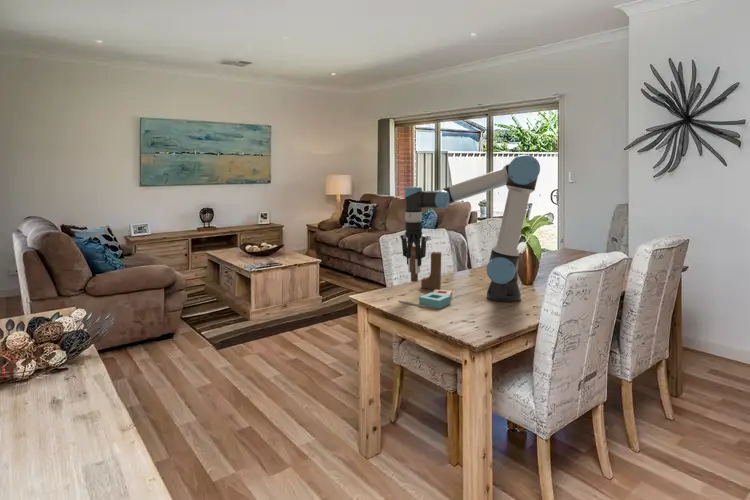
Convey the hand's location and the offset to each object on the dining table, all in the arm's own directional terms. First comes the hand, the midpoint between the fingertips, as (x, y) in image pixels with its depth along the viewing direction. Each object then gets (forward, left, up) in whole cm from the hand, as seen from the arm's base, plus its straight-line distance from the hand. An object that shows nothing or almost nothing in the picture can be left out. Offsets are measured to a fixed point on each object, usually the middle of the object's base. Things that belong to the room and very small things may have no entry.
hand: (414, 272), depth 225 cm
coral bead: (-11, -6, -12) cm, 18 cm away
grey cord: (-5, +10, -12) cm, 16 cm away
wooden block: (+3, -20, -12) cm, 23 cm away
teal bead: (-13, +4, -12) cm, 18 cm away
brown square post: (0, 0, -4) cm, 4 cm away
